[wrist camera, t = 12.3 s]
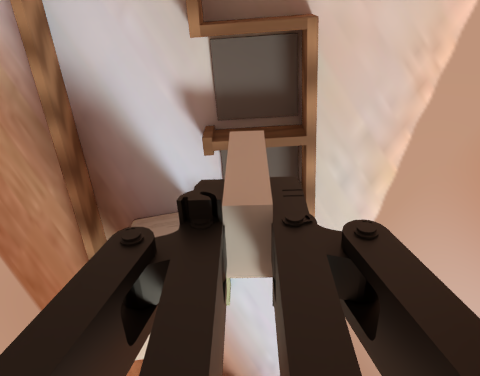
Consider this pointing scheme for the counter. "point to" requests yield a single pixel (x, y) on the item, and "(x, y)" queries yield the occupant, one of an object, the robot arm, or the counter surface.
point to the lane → (72, 159)
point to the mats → (258, 87)
